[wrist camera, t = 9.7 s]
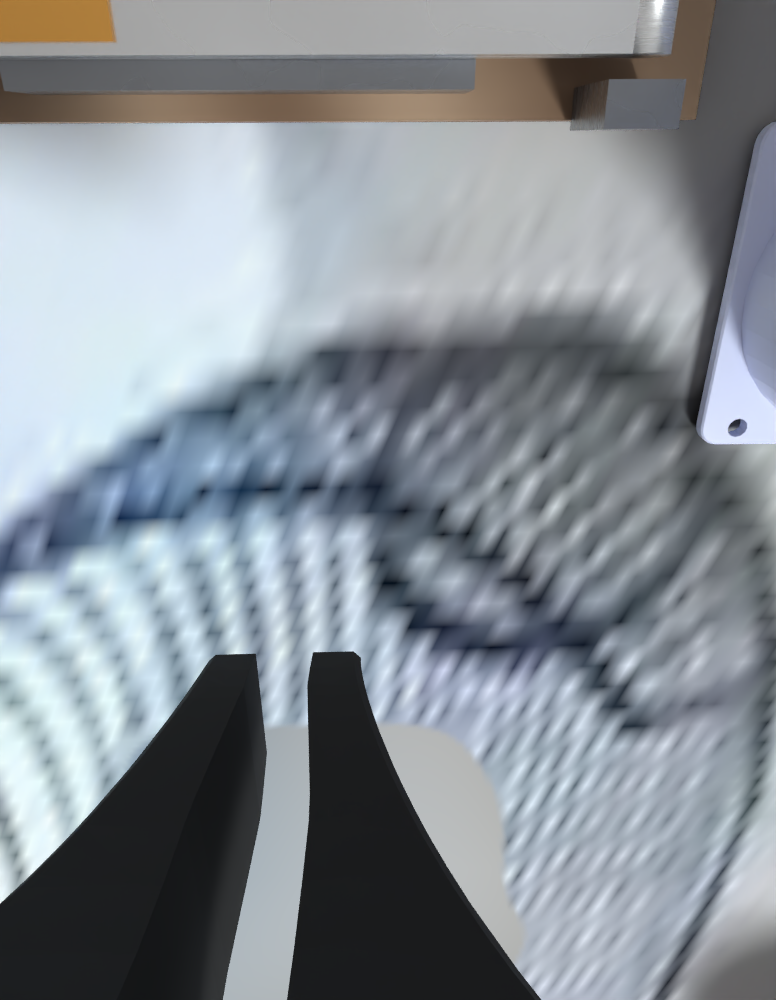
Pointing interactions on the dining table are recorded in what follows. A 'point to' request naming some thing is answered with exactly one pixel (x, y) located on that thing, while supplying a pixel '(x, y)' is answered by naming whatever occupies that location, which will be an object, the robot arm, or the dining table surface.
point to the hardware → (335, 83)
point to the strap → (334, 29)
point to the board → (496, 98)
